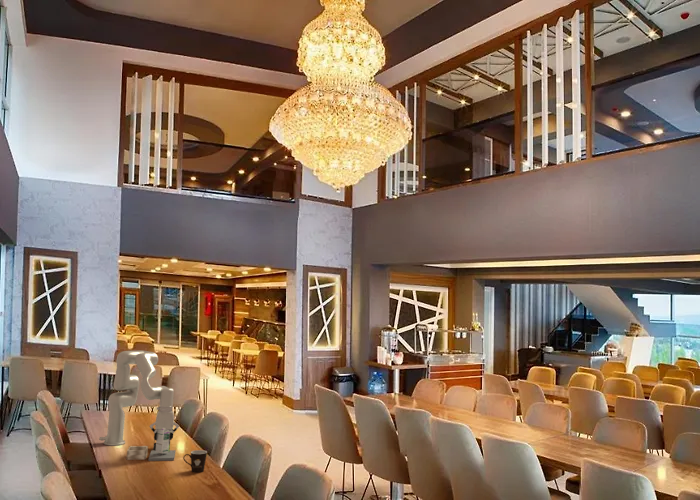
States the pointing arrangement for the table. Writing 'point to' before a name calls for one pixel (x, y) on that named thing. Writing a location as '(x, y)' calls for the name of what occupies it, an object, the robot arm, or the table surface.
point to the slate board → (162, 456)
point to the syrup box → (163, 441)
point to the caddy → (137, 452)
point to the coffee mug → (197, 460)
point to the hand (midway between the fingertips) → (163, 439)
